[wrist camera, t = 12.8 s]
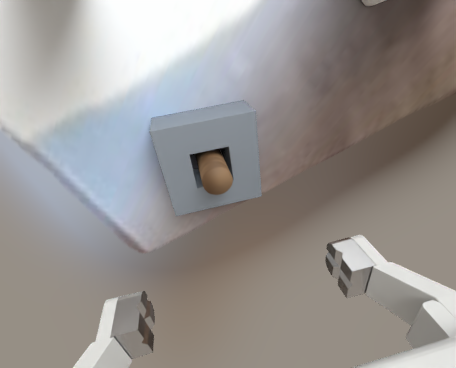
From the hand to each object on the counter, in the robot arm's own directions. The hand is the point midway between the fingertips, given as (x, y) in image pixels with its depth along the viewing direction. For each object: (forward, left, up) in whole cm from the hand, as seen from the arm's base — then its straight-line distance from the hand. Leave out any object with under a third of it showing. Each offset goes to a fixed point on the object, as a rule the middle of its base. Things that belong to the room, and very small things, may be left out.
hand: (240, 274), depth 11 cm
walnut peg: (-2, +8, -31) cm, 32 cm away
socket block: (-1, +8, -31) cm, 32 cm away
